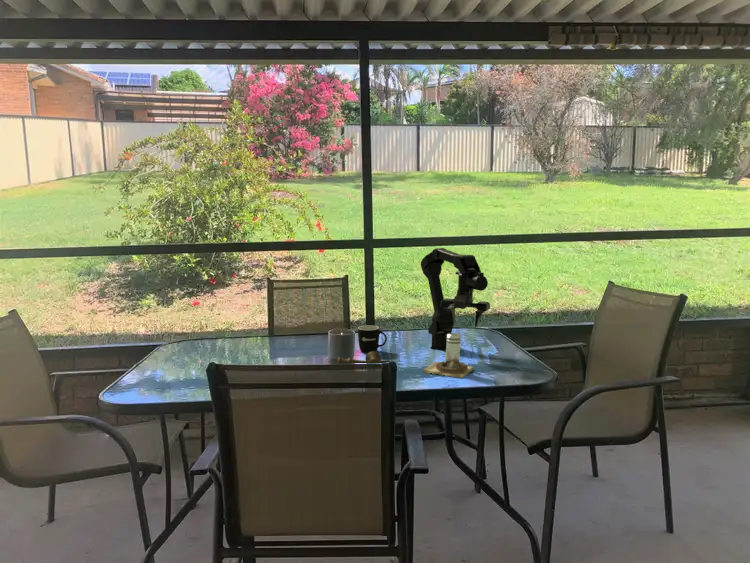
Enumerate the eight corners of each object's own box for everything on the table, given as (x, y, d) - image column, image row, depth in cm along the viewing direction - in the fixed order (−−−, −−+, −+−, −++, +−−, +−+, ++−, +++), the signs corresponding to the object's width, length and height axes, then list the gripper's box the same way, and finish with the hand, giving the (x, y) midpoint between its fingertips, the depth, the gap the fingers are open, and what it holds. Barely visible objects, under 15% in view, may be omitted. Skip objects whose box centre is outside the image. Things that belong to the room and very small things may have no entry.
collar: (423, 372, 220) (423, 366, 219) (435, 364, 230) (435, 357, 230) (462, 378, 213) (462, 371, 213) (472, 369, 224) (473, 362, 223)
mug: (357, 354, 244) (357, 330, 243) (358, 348, 253) (357, 325, 251) (387, 354, 244) (387, 330, 243) (386, 348, 253) (386, 325, 252)
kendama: (337, 367, 228) (389, 365, 229) (337, 376, 219) (392, 373, 220) (337, 352, 227) (389, 350, 228) (337, 360, 218) (391, 357, 219)
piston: (442, 368, 221) (444, 334, 219) (450, 366, 224) (452, 332, 222) (453, 371, 217) (455, 336, 215) (461, 369, 221) (463, 334, 219)
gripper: (435, 288, 232) (435, 327, 234) (482, 291, 224) (481, 332, 226) (445, 284, 242) (445, 322, 244) (491, 287, 233) (489, 326, 236)
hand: (464, 326), depth 237 cm, fingers open, 9 cm apart
